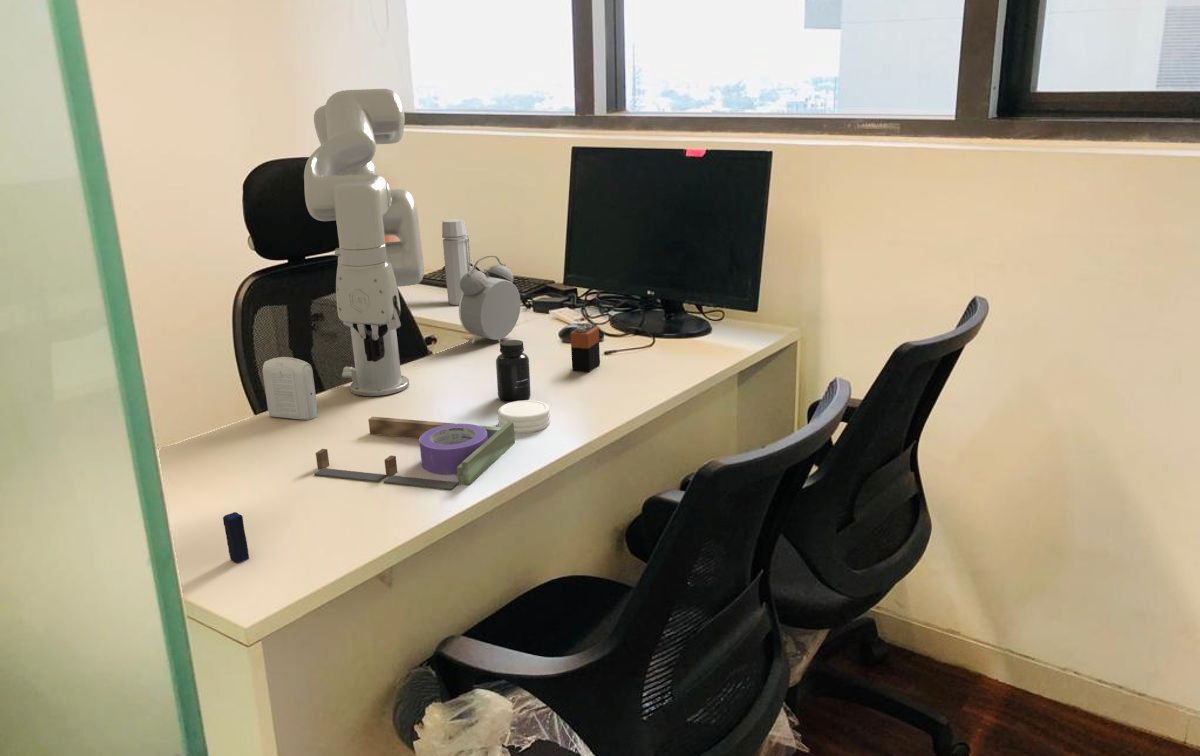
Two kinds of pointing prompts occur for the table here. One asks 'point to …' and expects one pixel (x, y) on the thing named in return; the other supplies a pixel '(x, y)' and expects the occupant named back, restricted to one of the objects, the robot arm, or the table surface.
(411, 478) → the mats
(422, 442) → the tape roll
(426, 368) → the table surface
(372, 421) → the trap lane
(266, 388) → the photo printer
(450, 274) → the water bottle
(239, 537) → the eraser
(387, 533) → the table surface
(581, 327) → the battery
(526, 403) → the coaster
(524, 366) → the supplement bottle
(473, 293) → the alarm clock
